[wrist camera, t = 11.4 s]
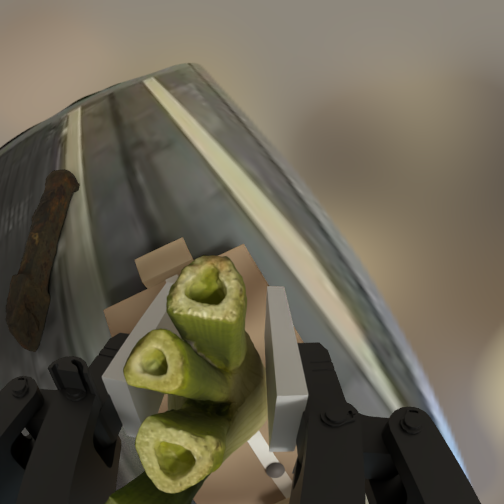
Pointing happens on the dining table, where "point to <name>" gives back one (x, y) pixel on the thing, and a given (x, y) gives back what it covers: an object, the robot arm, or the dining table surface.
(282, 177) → the dining table surface
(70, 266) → the dining table surface
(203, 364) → the fennel bulb
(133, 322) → the tan wooden board
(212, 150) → the dining table surface
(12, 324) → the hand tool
